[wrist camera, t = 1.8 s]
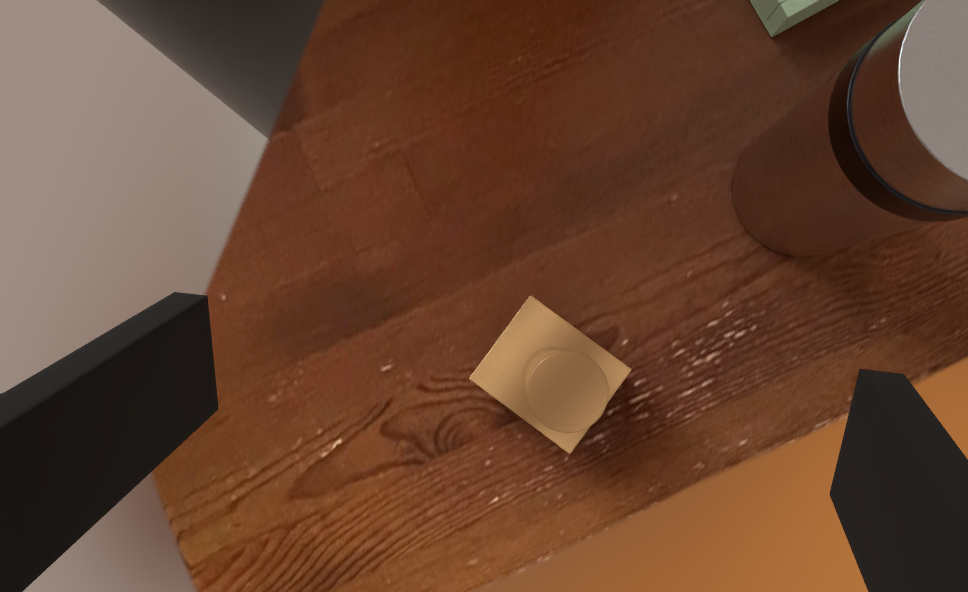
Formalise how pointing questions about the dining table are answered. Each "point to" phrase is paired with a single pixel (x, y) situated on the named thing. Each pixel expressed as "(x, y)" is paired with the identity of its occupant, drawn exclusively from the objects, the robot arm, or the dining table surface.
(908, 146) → the bottle
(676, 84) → the dining table surface
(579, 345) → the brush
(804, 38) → the dining table surface
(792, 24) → the tray
